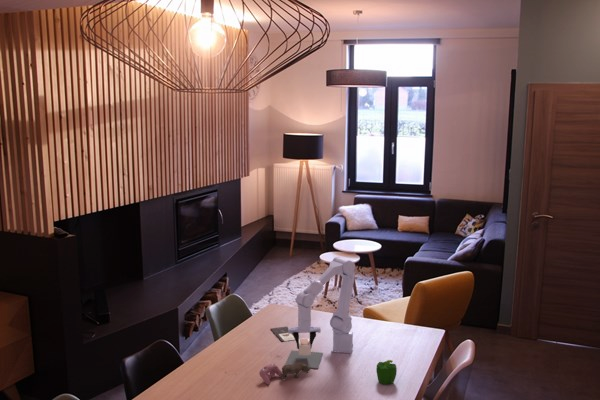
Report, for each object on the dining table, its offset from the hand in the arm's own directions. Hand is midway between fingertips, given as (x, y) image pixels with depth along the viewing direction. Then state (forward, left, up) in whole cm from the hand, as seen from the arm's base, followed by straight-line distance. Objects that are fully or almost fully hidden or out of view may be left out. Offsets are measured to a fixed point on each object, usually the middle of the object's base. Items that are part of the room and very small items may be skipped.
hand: (304, 347), depth 255 cm
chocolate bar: (+15, -29, -6) cm, 33 cm away
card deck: (0, 0, -2) cm, 2 cm away
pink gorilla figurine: (+11, +22, -6) cm, 25 cm away
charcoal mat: (0, 0, -6) cm, 6 cm away
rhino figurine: (0, +17, -6) cm, 18 cm away
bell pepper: (-37, +16, -6) cm, 41 cm away
